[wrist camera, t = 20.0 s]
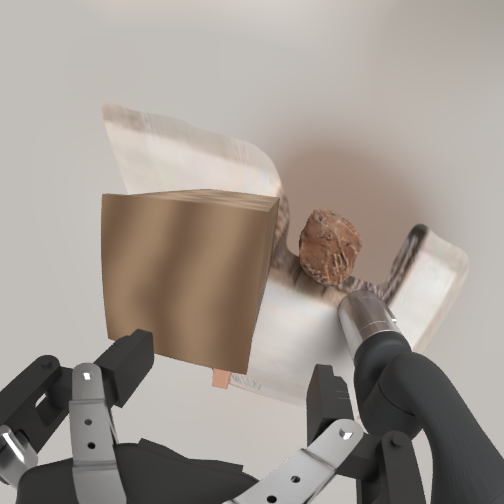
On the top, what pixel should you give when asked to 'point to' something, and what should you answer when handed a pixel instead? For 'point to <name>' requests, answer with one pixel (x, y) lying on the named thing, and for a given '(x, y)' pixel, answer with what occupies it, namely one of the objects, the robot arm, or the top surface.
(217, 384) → the tan wooden bar
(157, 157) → the top surface
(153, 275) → the stand
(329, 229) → the decorative rock
